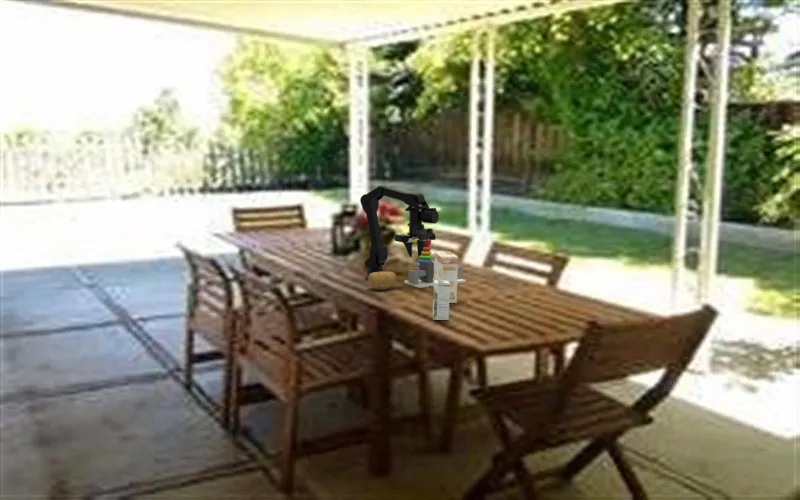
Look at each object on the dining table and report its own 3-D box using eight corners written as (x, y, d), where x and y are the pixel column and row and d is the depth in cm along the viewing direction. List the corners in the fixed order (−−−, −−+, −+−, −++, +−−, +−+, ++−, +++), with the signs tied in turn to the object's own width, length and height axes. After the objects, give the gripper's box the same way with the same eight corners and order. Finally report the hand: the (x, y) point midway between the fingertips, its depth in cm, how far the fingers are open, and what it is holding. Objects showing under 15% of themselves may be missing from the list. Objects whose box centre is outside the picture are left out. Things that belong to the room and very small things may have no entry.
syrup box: (432, 317, 341) (433, 279, 338) (447, 317, 341) (448, 280, 339) (433, 321, 335) (434, 282, 333) (449, 321, 335) (450, 282, 333)
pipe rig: (419, 287, 395) (419, 272, 394) (404, 283, 405) (404, 268, 404) (465, 282, 409) (466, 268, 408) (450, 277, 419) (450, 263, 418)
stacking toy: (431, 277, 420) (432, 237, 417) (414, 276, 421) (415, 236, 418) (434, 274, 427) (435, 235, 424) (417, 273, 429) (418, 234, 426)
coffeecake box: (457, 304, 364) (458, 256, 361) (440, 304, 363) (441, 257, 360) (449, 296, 379) (450, 250, 376) (432, 296, 378) (434, 251, 374)
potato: (401, 289, 391) (402, 271, 389) (375, 293, 382) (375, 274, 381) (388, 285, 398) (389, 268, 397) (362, 289, 390) (362, 271, 389)
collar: (427, 282, 400) (428, 263, 399) (419, 279, 406) (419, 261, 405) (433, 281, 402) (433, 262, 401) (424, 278, 408) (425, 260, 406)
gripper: (408, 225, 384) (407, 260, 387) (443, 222, 395) (442, 257, 397) (394, 222, 394) (393, 257, 396) (428, 219, 404) (428, 253, 406)
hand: (414, 256), depth 399 cm, fingers open, 4 cm apart
